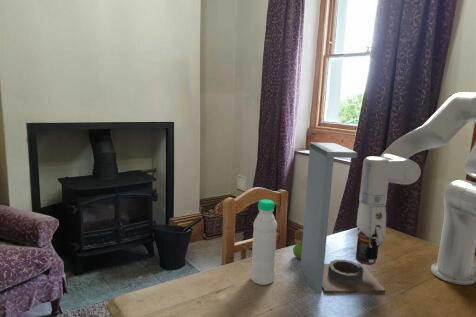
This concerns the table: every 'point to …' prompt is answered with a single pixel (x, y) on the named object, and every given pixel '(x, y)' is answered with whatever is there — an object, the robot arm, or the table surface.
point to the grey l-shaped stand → (318, 209)
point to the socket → (348, 279)
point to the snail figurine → (298, 243)
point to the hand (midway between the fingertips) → (366, 253)
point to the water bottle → (264, 244)
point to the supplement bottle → (363, 249)
